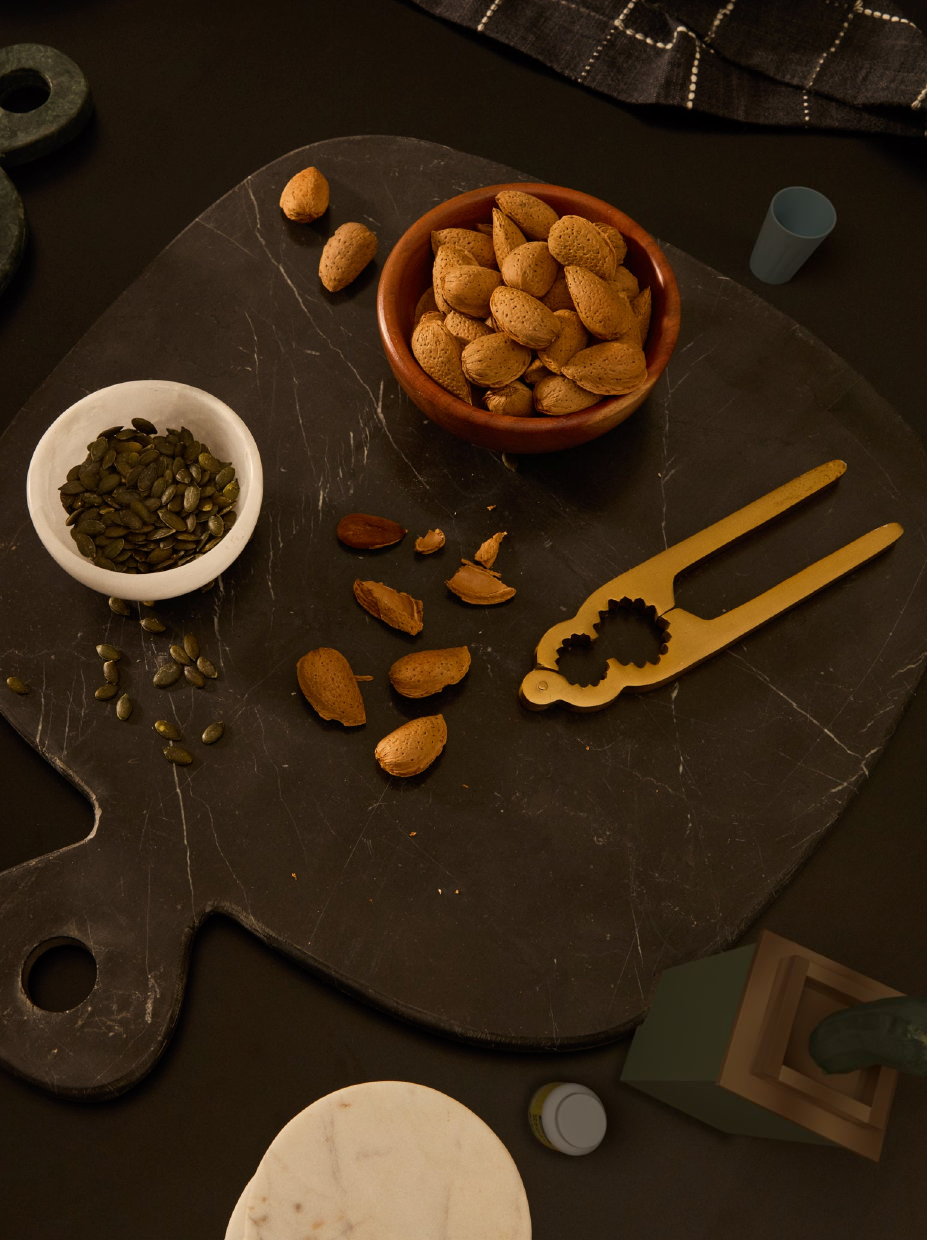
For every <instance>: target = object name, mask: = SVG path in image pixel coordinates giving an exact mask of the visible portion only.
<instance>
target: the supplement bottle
mask: <svg viewBox="0 0 927 1240" xmlns="http://www.w3.org/2000/svg"><path fill="white" fill-rule="evenodd" d="M605 1109H606V1108H605V1107H604V1104H603V1102H602V1101H601V1099H600V1098H599V1097H598V1095H597V1094H596V1093H595V1092H594V1091H593V1090H591V1088H589V1087H587V1086H585V1085H583V1084H580V1083H576V1082H567V1081H564V1082H563V1081H552V1082H548V1083H546V1084H544V1085H542V1086H540V1087H539V1088H538V1089H537V1090H536V1091H535V1093H534V1094H533V1096H532V1097H531V1099H530V1102H529V1105H528V1112H527V1113H528V1122H529V1125H530V1128H531V1130H532V1133H533V1134H534V1136H535V1138H536V1139H537V1140H538V1141H539V1142H540V1143H541V1144H542V1145H544V1146H546V1147H547V1148H549V1149H551V1150H554V1151H557V1152H560V1153H562V1154H565V1155H568V1156H574V1157H575V1156H578V1157H579V1156H584V1155H587V1154H590V1153H592V1152H594V1150H595V1149H597V1148H598V1147H599V1145H600V1144H601V1143H602V1141H603V1139H604V1137H605V1134H606V1131H607V1123H608V1122H607V1113H606V1110H605Z"/></svg>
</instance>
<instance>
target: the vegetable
mask: <svg viewBox="0 0 927 1240" xmlns="http://www.w3.org/2000/svg"><path fill="white" fill-rule="evenodd" d="M809 1053H810V1055H811V1057H812V1058H813V1060H814V1062H815V1064H816V1065H817V1066H818V1067H821V1068H822V1069H823V1070H822V1073H823V1074H824V1075H829V1074H848V1073H851V1072H853V1071H856V1070H860V1069H863V1068H867V1067H869V1066H872V1065H875V1064H880V1065H883V1066H886V1067H889V1068H892V1069H895V1070H898V1071H899V1072H900V1073H904V1074H907V1075H913V1076H916V1077H925V1078H926V1077H927V997H925V996H920V995H907V996H897V997H889V998H882V999H878V1000H875V1001H869V1002H864V1003H861V1004H858V1005H854V1006H851V1007H848V1008H845V1009H841V1010H837V1011H835V1012H833V1013H831V1014H830V1015H828V1016H827V1017H826V1018H825V1019H823V1020H822V1021H821V1022H820V1023H819V1024H818V1026H817V1027H816V1028H815V1029H814V1030H813V1031H812V1033H811V1035H810V1039H809Z"/></svg>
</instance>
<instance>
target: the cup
mask: <svg viewBox="0 0 927 1240" xmlns="http://www.w3.org/2000/svg"><path fill="white" fill-rule="evenodd" d="M836 223H837V212H836V209H835V207H834V205H833V204H832V202H831V201H830V200H829V198H827V197H826V196H825V195H823V194H822V193H820V192H819V191H817V190H815V189H812V188H809V187H805V186H789V187H786V188H783V189H781V190H779V191H778V192H777V193H775V195H773V198H772V199H771V202H770V204H769V207H768V210H767V213H766V215H765V218H764V220H763V223H762V226H761V228H760V231H759V234H758V237H757V239H756V242H755V245H754V247H753V249H752V252H751V255H750V258H749V268H750V270H751V273H752V275H754V276H755V277H756V278H757V279H759V280H760V281H761V282H762V283H763V282H764V283H767V284H769V285H783V284H784V283H788V282H789V281H790V280H791V279H792V278H793V277H794V275H796V274H797V272H798V271H799V270H800V269H801V267H802V266H803V265H804V263H806V261H807V260H808V259H809V258H810V256H811V255H812V254H813V253H814V252H815V251H816V249H818V247H819V246H820V244H822V242H823V241H824V240H825V239H826V238H827V237H828V236H829V235H830V233H831V232H832V231H833V229H834V228H835V226H836Z"/></svg>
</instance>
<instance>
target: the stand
mask: <svg viewBox="0 0 927 1240" xmlns="http://www.w3.org/2000/svg"><path fill="white" fill-rule="evenodd" d="M756 943H757V942H754V943H751V944H747V945H744V946H739V947H737V948H733V949H729V950H726V951H723V952H720V953H716V954H713V955H709V956H706V957H701V958H699V959H696V960H692V961H689V962H685V963H681V964H679V965H676V966H672V967H668V968H665V969H662V970H663V972H662V976H661V978H660V981H659V985H658V987H657V990H656V994H655V997H654V1000H653V1003H652V1007H651V1009H650V1011H649V1013H648V1015H647V1017H646V1019H645V1021H644V1023H643V1024H642V1025H641V1024H640V1025H641V1026H640V1025H639V1026H637V1025H636V1029H635V1032H634V1035H633V1037H632V1041H631V1043H630V1046H629V1050H628V1053H627V1056H626V1060H625V1061H624V1062H625V1063H624V1065H623V1069H622V1072H621V1075H620V1078H619V1081H620V1082H622V1083H625V1084H627V1085H629V1086H630V1087H632V1088H634V1089H636V1090H638V1091H640V1092H642V1093H644V1094H646V1095H648V1096H650V1097H652V1098H655V1099H656V1100H658V1101H661V1102H662V1103H664V1104H666V1105H669V1106H670V1107H672V1108H675V1109H677V1110H679V1111H680V1112H683V1113H684V1114H686V1115H688V1116H691V1117H692V1118H694V1119H697V1120H699V1121H701V1122H703V1123H704V1124H707V1125H709V1126H710V1127H713V1128H715V1129H717V1130H719V1131H721V1132H723V1133H724V1134H732V1135H740V1136H748V1137H757V1138H764V1139H770V1140H771V1139H772V1140H780V1141H788V1142H795V1143H803V1144H810V1145H818V1146H826V1147H835V1148H841V1147H840V1146H838V1145H836V1144H834V1143H832V1142H830V1141H828V1140H826V1139H824V1138H822V1137H820V1136H818V1135H816V1134H814V1133H812V1132H810V1131H808V1130H806V1129H804V1128H802V1127H800V1126H798V1125H796V1124H794V1123H791V1122H789V1121H787V1120H785V1119H783V1118H781V1117H779V1116H777V1115H775V1114H773V1113H771V1112H769V1111H767V1110H765V1109H763V1108H761V1107H759V1106H757V1105H755V1104H753V1103H751V1102H749V1101H747V1100H745V1099H743V1098H741V1097H739V1096H737V1095H735V1094H732V1093H730V1092H728V1091H726V1090H724V1089H722V1088H720V1087H718V1086H716V1085H715V1083H716V1080H717V1077H718V1073H719V1070H720V1066H721V1063H722V1059H723V1056H724V1053H725V1049H726V1046H727V1042H728V1039H729V1035H730V1032H731V1029H732V1025H733V1022H734V1018H735V1015H736V1011H737V1008H738V1005H739V1001H740V998H741V994H742V991H743V987H744V984H745V981H746V977H747V974H748V970H749V967H750V963H751V960H752V957H753V953H754V950H755V946H756Z"/></svg>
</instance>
